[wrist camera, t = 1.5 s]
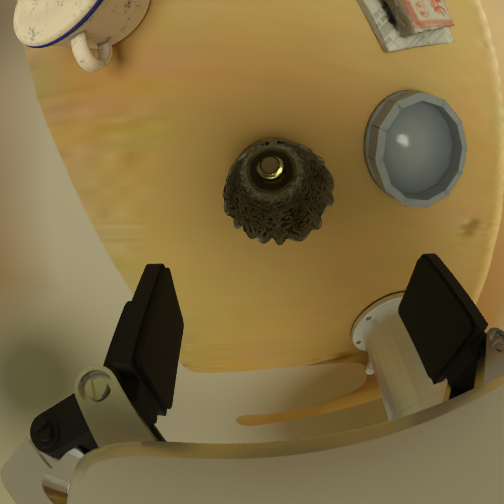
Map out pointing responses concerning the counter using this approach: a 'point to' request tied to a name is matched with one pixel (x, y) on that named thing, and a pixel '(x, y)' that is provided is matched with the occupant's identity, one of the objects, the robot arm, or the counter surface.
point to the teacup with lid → (78, 26)
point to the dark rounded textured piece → (278, 191)
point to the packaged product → (408, 22)
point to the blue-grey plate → (415, 147)
